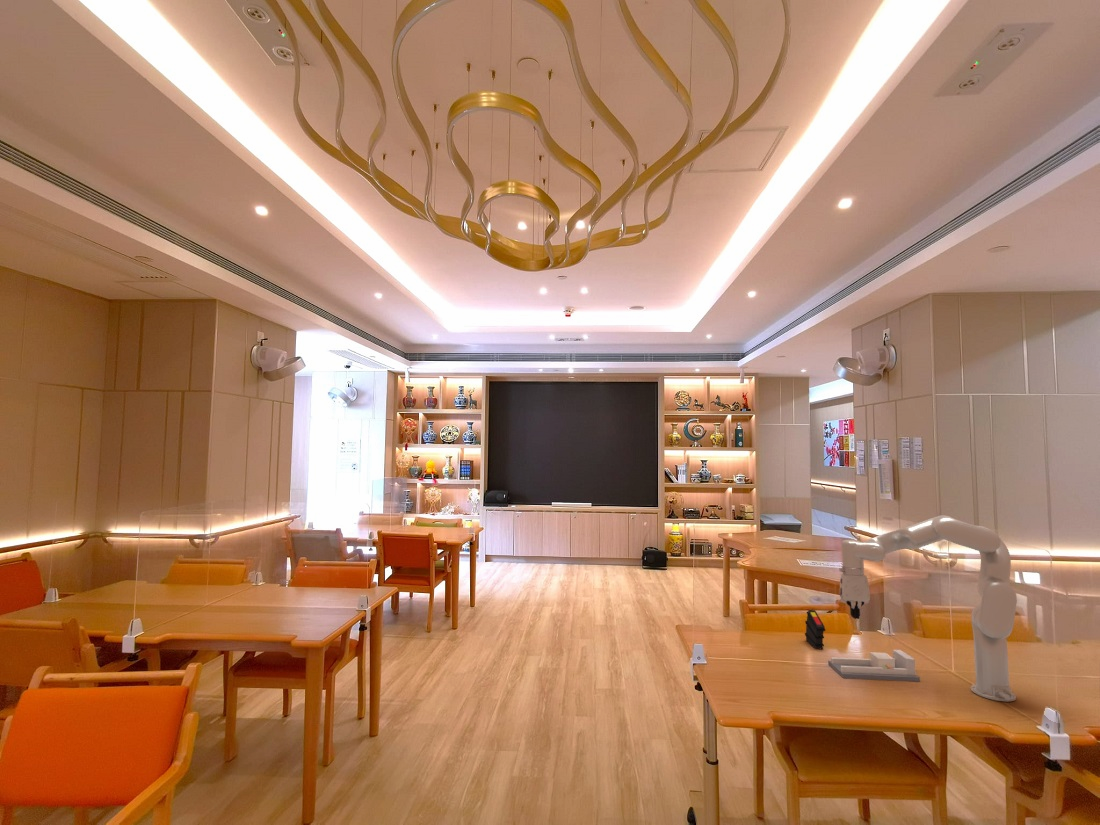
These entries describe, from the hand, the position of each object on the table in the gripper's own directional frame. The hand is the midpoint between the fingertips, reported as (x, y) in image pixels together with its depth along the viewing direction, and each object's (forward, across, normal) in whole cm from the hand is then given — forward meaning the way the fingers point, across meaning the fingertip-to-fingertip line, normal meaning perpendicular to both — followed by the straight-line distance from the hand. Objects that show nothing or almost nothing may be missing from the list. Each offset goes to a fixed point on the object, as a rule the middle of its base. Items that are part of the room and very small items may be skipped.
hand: (855, 617), depth 218 cm
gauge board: (+21, +6, 0) cm, 22 cm away
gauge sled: (+19, +10, 0) cm, 22 cm away
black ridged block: (+21, -5, +29) cm, 36 cm away
